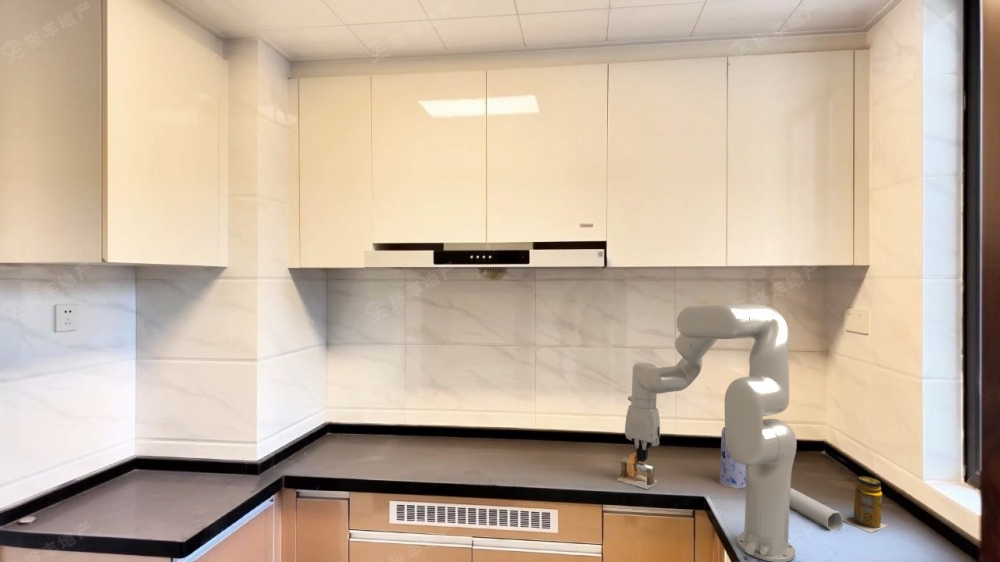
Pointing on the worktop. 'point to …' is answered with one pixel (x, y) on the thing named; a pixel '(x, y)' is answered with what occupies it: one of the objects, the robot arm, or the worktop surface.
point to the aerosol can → (731, 468)
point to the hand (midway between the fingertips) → (641, 460)
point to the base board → (627, 478)
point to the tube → (815, 511)
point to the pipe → (640, 466)
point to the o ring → (632, 465)
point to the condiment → (867, 505)
